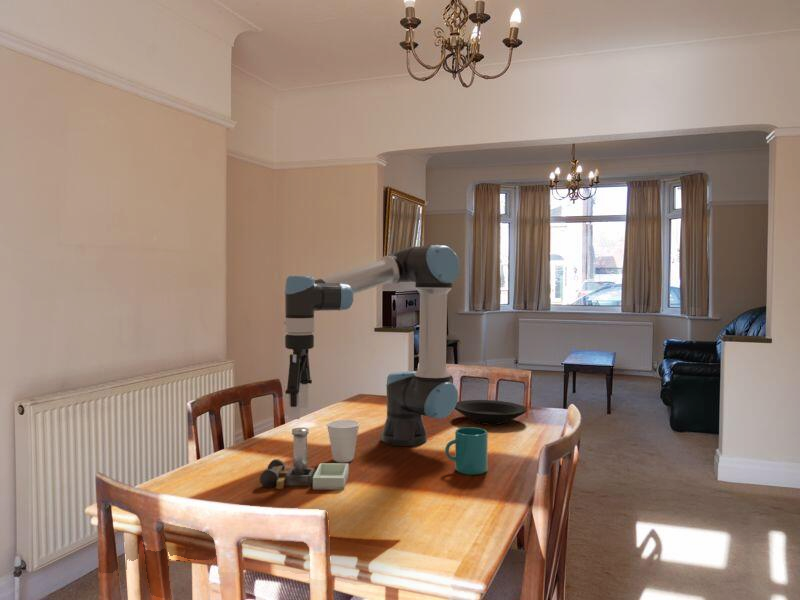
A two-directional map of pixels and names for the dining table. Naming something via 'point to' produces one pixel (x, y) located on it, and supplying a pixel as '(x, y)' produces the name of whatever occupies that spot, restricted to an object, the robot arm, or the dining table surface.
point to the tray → (331, 476)
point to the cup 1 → (343, 439)
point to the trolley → (277, 471)
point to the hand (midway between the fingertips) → (299, 413)
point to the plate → (489, 411)
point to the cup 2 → (469, 450)
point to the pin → (300, 450)
